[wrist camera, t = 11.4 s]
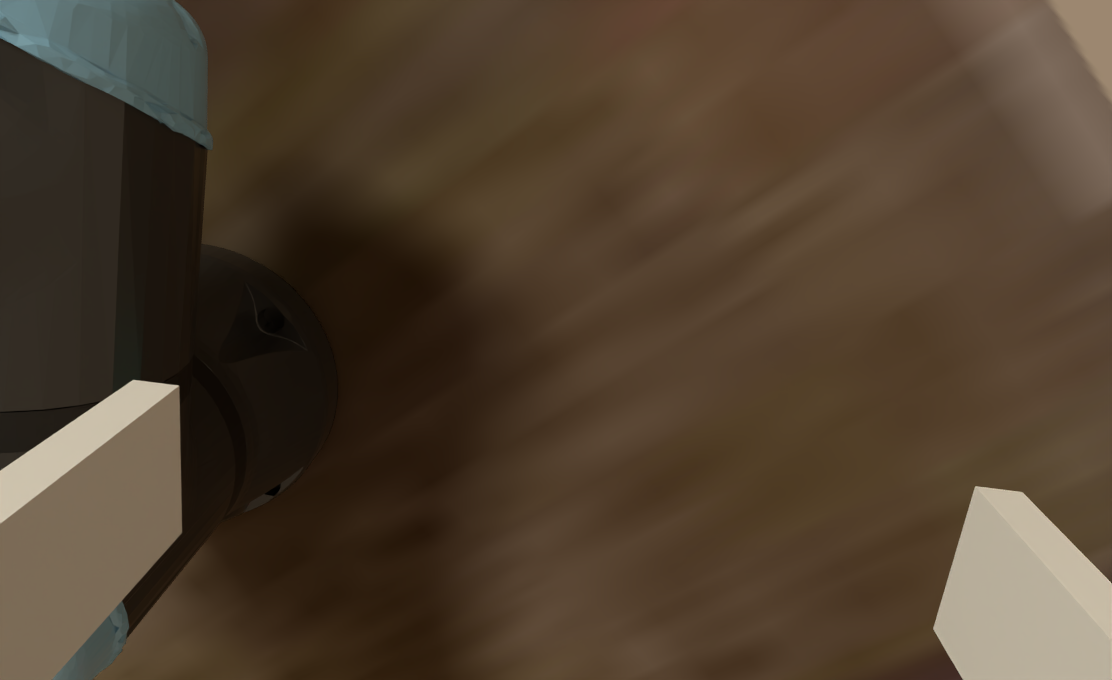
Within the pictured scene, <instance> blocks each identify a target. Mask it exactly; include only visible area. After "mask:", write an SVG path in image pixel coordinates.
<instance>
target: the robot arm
mask: <svg viewBox="0 0 1112 680" xmlns="http://www.w3.org/2000/svg"><path fill="white" fill-rule="evenodd" d="M207 76H208V54H207V47H206V42H205V39H204V36H203V34H202V32H201V30H200V28H199V26H198V24H197V23H196V21H195V20H194V18H193V17H192V16H191V15H190V14H189V13H188V12H187V11H186V10H185V9H184V8H183V7H182V6H181V5H180V4H178V3H177V2H176V1H174V0H0V680H92V679H93V678H94V677H95V676H96V675H97V674H98V673H99V672H101V671H102V670H104V669H105V668H107V667H108V666H109V665H110V664H112V662H113V661H114V660H115V658H116V657H117V656H118V655H119V654H120V653H121V652H122V647H123V646H124V645H125V644H126V639H127V637H128V636H129V635H130V634H131V633H132V631H133V630H134V629H135V628H136V626H137V625H138V624H139V623H140V621H141V620H142V619H143V618H144V616H145V615H146V614H147V613H148V612H149V610H150V609H151V608H152V607H153V605H154V604H155V603H156V602H157V600H158V599H159V598H160V597H161V595H162V594H163V593H164V592H165V591H166V589H167V588H168V587H169V586H170V584H171V583H172V582H173V581H174V579H175V578H176V577H177V576H178V575H179V573H180V572H181V571H182V570H183V568H184V567H185V566H186V565H187V563H188V562H189V561H190V560H191V558H192V557H193V556H194V555H195V554H196V552H197V551H198V550H199V549H200V547H201V546H202V545H203V544H204V542H205V541H206V540H207V539H208V537H209V536H210V535H211V534H212V533H213V531H214V530H215V529H216V528H217V526H218V525H219V524H220V523H221V522H224V521H226V520H228V519H231V518H233V517H235V516H238V515H240V514H242V513H244V512H246V511H249V510H252V509H254V508H256V507H259V506H261V505H263V504H265V503H267V502H269V501H271V500H272V499H274V498H275V497H277V496H278V495H280V494H281V493H282V492H284V491H285V490H286V489H288V488H289V487H290V486H291V485H292V484H293V483H294V482H295V481H296V480H297V479H298V478H299V477H300V476H301V475H302V474H303V473H304V471H305V470H306V469H307V467H308V466H309V465H310V463H311V462H312V461H313V459H314V458H315V456H316V455H317V454H318V452H319V451H320V449H321V448H322V446H323V444H324V442H325V441H326V439H327V437H328V434H329V432H330V429H331V427H332V424H333V420H334V416H335V412H336V406H337V397H338V383H337V373H336V366H335V362H334V357H333V354H332V351H331V348H330V345H329V342H328V340H327V337H326V335H325V333H324V331H323V329H322V327H321V325H320V323H319V322H318V320H317V318H316V317H315V315H314V314H313V312H312V311H311V309H310V308H309V307H308V305H307V304H306V303H305V301H304V300H303V299H302V298H301V297H300V296H299V295H298V294H297V292H296V291H295V290H294V289H292V288H291V287H290V286H289V285H288V284H287V283H286V282H285V281H284V280H283V279H281V278H280V277H279V276H277V275H276V274H275V273H273V272H272V271H271V270H269V269H267V268H266V267H264V266H263V265H261V264H259V263H257V262H256V261H254V260H252V259H250V258H248V257H245V256H243V255H241V254H238V253H236V252H233V251H230V250H227V249H224V248H220V247H215V246H211V245H205V244H201V240H202V225H203V210H204V195H205V180H206V165H207V150H212V149H213V139H212V136H211V134H210V133H209V132H208V130H207ZM933 629H934V631H935V633H936V634H937V636H938V638H939V640H940V641H941V643H942V645H943V646H944V648H945V650H946V651H947V653H948V655H949V657H950V658H951V660H952V662H953V663H954V665H955V667H956V669H957V670H958V672H959V674H960V675H961V677H962V679H963V680H1112V583H1111V582H1110V581H1109V580H1108V579H1107V578H1106V577H1105V576H1104V575H1103V574H1102V573H1101V572H1100V571H1099V570H1098V569H1097V568H1096V567H1095V566H1094V565H1093V564H1092V563H1091V562H1090V561H1089V560H1088V559H1087V558H1086V557H1085V556H1084V555H1083V554H1082V553H1081V552H1080V551H1079V550H1078V549H1077V548H1076V547H1075V546H1074V545H1073V544H1072V543H1071V542H1070V540H1069V539H1068V538H1067V537H1066V536H1065V535H1064V534H1063V533H1062V532H1061V531H1060V530H1059V529H1058V528H1057V527H1056V526H1055V525H1054V524H1053V523H1052V522H1051V521H1050V520H1049V519H1048V518H1047V517H1046V516H1045V515H1044V514H1043V513H1042V512H1041V511H1040V510H1039V509H1038V508H1037V507H1036V506H1035V505H1034V504H1033V503H1032V502H1031V501H1030V500H1029V499H1028V498H1027V497H1026V496H1025V495H1024V494H1023V493H1022V492H1016V491H1008V490H1001V489H993V488H985V487H977V486H975V489H974V492H973V496H972V499H971V502H970V506H969V509H968V513H967V516H966V519H965V523H964V526H963V530H962V533H961V536H960V540H959V543H958V547H957V550H956V553H955V557H954V560H953V564H952V567H951V570H950V574H949V577H948V581H947V584H946V587H945V591H944V594H943V598H942V601H941V604H940V608H939V611H938V614H937V618H936V621H935V625H934V628H933Z"/></svg>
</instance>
